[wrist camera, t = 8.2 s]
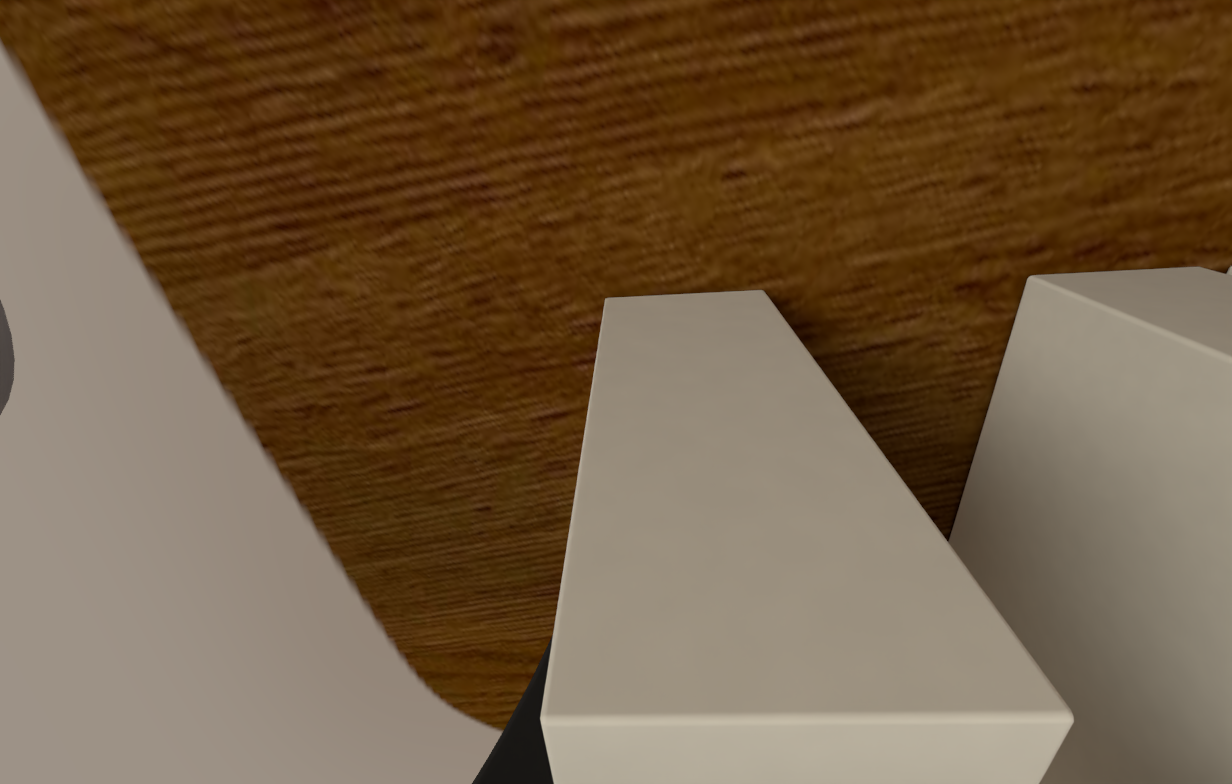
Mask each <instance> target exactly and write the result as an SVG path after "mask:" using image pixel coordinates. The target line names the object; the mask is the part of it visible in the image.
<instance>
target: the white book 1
mask: <svg viewBox="0 0 1232 784" xmlns="http://www.w3.org/2000/svg"><path fill="white" fill-rule="evenodd" d="M540 721H541V726H542V730H543V735H544V740H545V744H546V749H547V754H548V758H549V763H550V768H551V772H552V777H553V782H554V784H1039V783H1040V782H1041V780H1042V778H1043V776H1044V774H1045V773H1046V771H1047V769H1048V767H1049V766H1050V764H1051V762H1052V760H1053V758H1054V757H1055V755H1056V753H1057V751H1058V749H1059V748H1060V746H1061V744H1062V742H1063V740H1064V739H1065V737H1066V735H1067V733H1068V732H1069V730H1070V728H1071V726H1072V724H1073V723H1074V716H1073V714H1072V711H1071V709H1070V708H1069V707H1068V705H1067V704H1066V703H1065V701H1064V700H1063V698H1062V697H1061V696H1060V694H1059V693H1058V692H1057V690H1056V689H1055V688H1054V686H1053V685H1052V683H1051V682H1050V681H1049V679H1048V678H1047V677H1046V675H1045V674H1044V673H1043V671H1042V670H1041V668H1040V667H1039V666H1038V664H1037V663H1036V662H1035V660H1034V659H1033V658H1032V656H1031V655H1030V653H1029V652H1028V651H1027V649H1026V648H1025V647H1024V645H1023V644H1022V642H1021V641H1020V640H1019V638H1018V637H1017V636H1016V634H1015V633H1014V632H1013V630H1012V629H1011V627H1010V626H1009V625H1008V623H1007V622H1006V621H1005V619H1004V618H1003V617H1002V615H1001V614H1000V612H999V611H998V610H997V608H996V607H995V606H994V604H993V603H992V602H991V600H990V599H989V597H988V596H987V595H986V593H985V592H984V591H983V589H982V588H981V587H980V585H979V584H978V582H977V581H976V580H975V578H974V577H973V576H972V574H971V573H970V571H969V570H968V569H967V567H966V566H965V565H964V563H963V562H962V561H961V559H960V558H959V556H958V555H957V554H956V552H955V551H954V550H953V548H952V547H951V546H950V544H949V543H948V541H947V540H946V539H945V537H944V536H943V535H942V533H941V532H940V531H939V529H938V528H937V526H936V525H935V524H934V522H933V521H932V520H931V518H930V517H929V516H928V514H927V513H926V511H925V510H924V509H923V507H922V506H921V505H920V503H919V502H918V500H917V499H916V498H915V496H914V495H913V494H912V492H911V491H910V490H909V488H908V487H907V485H906V484H905V483H904V481H903V480H902V479H901V477H900V476H899V475H898V473H897V472H896V470H895V469H894V468H893V466H892V465H891V464H890V462H889V461H888V460H887V458H886V457H885V455H884V454H883V453H882V451H881V450H880V449H879V447H878V446H877V445H876V443H875V442H874V440H873V439H872V438H871V436H870V435H869V434H868V432H867V431H866V429H865V428H864V427H863V425H862V424H861V423H860V421H859V420H858V419H857V417H856V416H855V414H854V413H853V412H852V410H851V409H850V408H849V406H848V405H847V404H846V402H845V401H844V399H843V398H842V397H841V395H840V394H839V393H838V391H837V390H836V389H835V387H834V386H833V384H832V383H831V382H830V380H829V379H828V378H827V376H826V375H825V374H824V372H823V371H822V369H821V368H820V367H819V365H818V364H817V363H816V361H815V360H814V358H813V357H812V356H811V354H810V353H809V352H808V350H807V349H806V348H805V346H804V345H803V343H802V342H801V341H800V339H799V338H798V337H797V335H796V334H795V333H794V331H793V330H792V328H791V327H790V326H789V324H788V323H787V322H786V320H785V319H784V318H783V316H782V315H781V313H780V312H779V311H778V309H777V308H776V307H775V305H774V304H773V303H772V301H771V300H770V298H769V297H768V296H767V294H766V293H765V292H764V291H763V290H752V291H732V292H713V293H694V294H674V295H655V296H636V297H616V298H606V299H605V303H604V310H603V316H602V323H601V329H600V336H599V342H598V348H597V355H596V361H595V368H594V374H593V381H592V387H591V394H590V400H589V406H588V413H587V419H586V426H585V432H584V439H583V445H582V452H581V458H580V464H579V471H578V477H577V484H576V490H575V497H574V503H573V510H572V516H571V522H570V529H569V535H568V542H567V548H566V555H565V561H564V568H563V574H562V580H561V587H560V593H559V600H558V606H557V613H556V619H555V626H554V632H553V639H552V645H551V651H550V658H549V664H548V671H547V677H546V684H545V690H544V697H543V703H542V709H541V716H540Z"/></svg>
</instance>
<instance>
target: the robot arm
mask: <svg viewBox="0 0 1232 784" xmlns="http://www.w3.org/2000/svg"><path fill="white" fill-rule="evenodd" d="M552 639H553V636H552V638H551V640H550V642H549V644H548V646H547V648H546V650H545V652H544V655H543V657H542V659H541V661H540V663H539V665H538V667H537V669H536V671H535V673H534V675H533V677H532V679H531V681H530V683H529V685H528V687H527V689H526V691H525V693H524V695H523V696H522V698H521V700H520V702H519V704H518V706H517V707H516V709H515V711H514V713H513V715H512V717H511V718H510V720H509V722H508V724H507V726H506V728H505V729H504V731H503V733H502V735H501V736H500V738H499V740H498V742H497V743H496V745H495V747H494V749H493V750H492V752H491V754H490V755H489V757H488V759H487V760H486V762H485V764H484V765H483V767H482V768H481V770H480V772H479V773H478V775H477V776H476V778H475V780H474V781H473V783H472V784H554V782H553V777H552V772H551V768H550V763H549V758H548V754H547V749H546V744H545V740H544V735H543V730H542V726H541V721H540V716H541V709H542V703H543V697H544V690H545V684H546V677H547V671H548V664H549V658H550V651H551V645H552Z"/></svg>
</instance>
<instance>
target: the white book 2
mask: <svg viewBox="0 0 1232 784" xmlns="http://www.w3.org/2000/svg"><path fill="white" fill-rule="evenodd" d="M948 543H949V544H950V546H951V547H952V548H953V550H954V551H955V552H956V554H957V555H958V556H959V558H960V559H961V561H962V562H963V563H964V565H965V566H966V567H967V569H968V570H969V571H970V573H971V574H972V576H973V577H974V578H975V580H976V581H977V582H978V584H979V585H980V587H981V588H982V589H983V591H984V592H985V593H986V595H987V596H988V597H989V599H990V600H991V602H992V603H993V604H994V606H995V607H996V608H997V610H998V611H999V612H1000V614H1001V615H1002V617H1003V618H1004V619H1005V621H1006V622H1007V623H1008V625H1009V626H1010V627H1011V629H1012V630H1013V632H1014V633H1015V634H1016V636H1017V637H1018V638H1019V640H1020V641H1021V642H1022V644H1023V645H1024V647H1025V648H1026V649H1027V651H1028V652H1029V653H1030V655H1031V656H1032V658H1033V659H1034V660H1035V662H1036V663H1037V664H1038V666H1039V667H1040V668H1041V670H1042V671H1043V673H1044V674H1045V675H1046V677H1047V678H1048V679H1049V681H1050V682H1051V683H1052V685H1053V686H1054V688H1055V689H1056V690H1057V692H1058V693H1059V694H1060V696H1061V697H1062V698H1063V700H1064V701H1065V703H1066V704H1067V705H1068V707H1069V708H1070V709H1071V711H1072V714H1073V716H1074V723H1073V724H1072V726H1071V728H1070V730H1069V732H1068V733H1067V735H1066V737H1065V739H1064V740H1063V742H1062V744H1061V746H1060V748H1059V749H1058V751H1057V753H1056V755H1055V757H1054V758H1053V760H1052V762H1051V764H1050V766H1049V767H1048V769H1047V771H1046V773H1045V774H1044V776H1043V778H1042V780H1041V782H1040V783H1039V784H1232V276H1231V275H1227V274H1224V273H1220V272H1216V271H1213V270H1209V269H1205V268H1202V267H1182V268H1163V269H1144V270H1125V271H1106V272H1086V273H1067V274H1048V275H1032V276H1029V277H1028V279H1027V281H1026V285H1025V288H1024V291H1023V295H1022V298H1021V301H1020V305H1019V308H1018V311H1017V315H1016V318H1015V321H1014V325H1013V328H1012V331H1011V335H1010V338H1009V342H1008V345H1007V348H1006V352H1005V355H1004V358H1003V362H1002V365H1001V368H1000V372H999V375H998V378H997V382H996V385H995V388H994V392H993V395H992V398H991V402H990V405H989V408H988V412H987V415H986V418H985V422H984V425H983V428H982V432H981V435H980V438H979V442H978V445H977V448H976V452H975V455H974V458H973V462H972V465H971V468H970V472H969V475H968V478H967V482H966V485H965V488H964V492H963V495H962V498H961V502H960V505H959V508H958V512H957V515H956V518H955V522H954V525H953V528H952V532H951V535H950V538H949V542H948Z"/></svg>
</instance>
